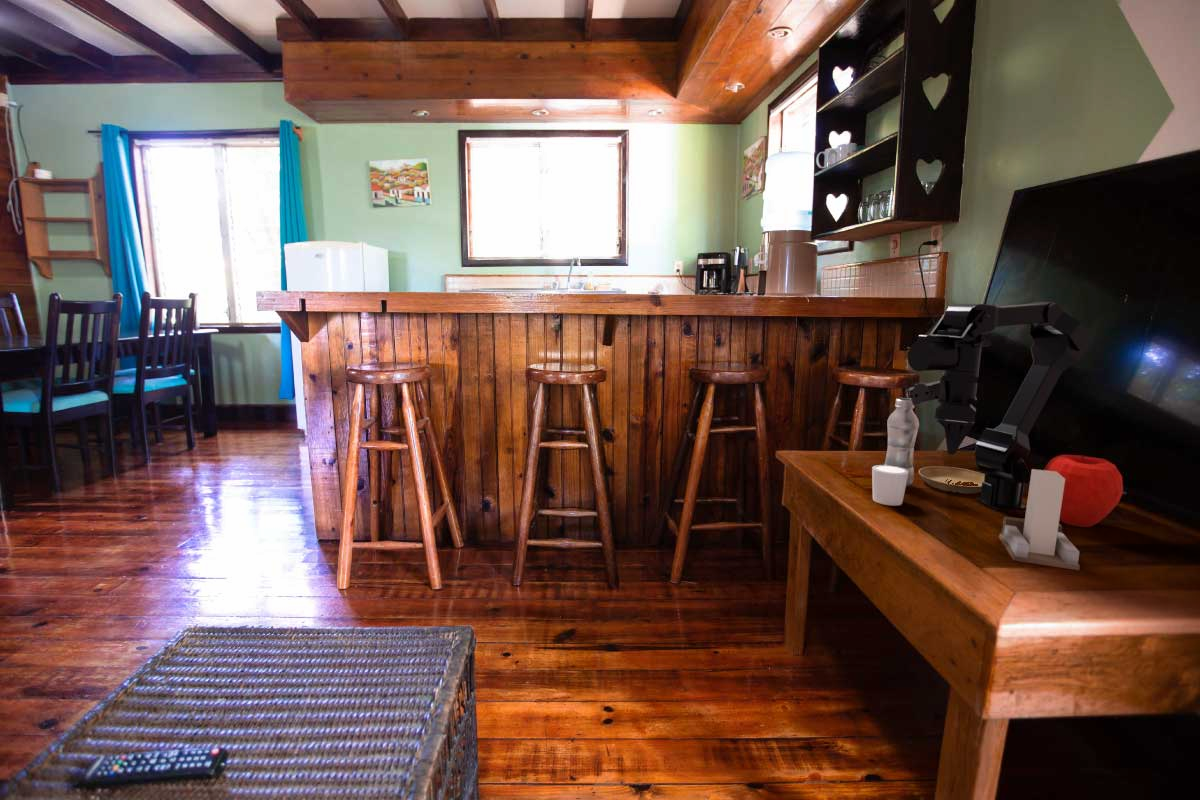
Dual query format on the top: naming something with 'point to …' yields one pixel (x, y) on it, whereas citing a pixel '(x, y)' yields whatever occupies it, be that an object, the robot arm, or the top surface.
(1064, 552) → the sill track
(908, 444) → the plastic bottle
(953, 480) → the plant saucer
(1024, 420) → the robot arm
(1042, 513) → the white rectangular block
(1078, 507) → the apple
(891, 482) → the white cup
